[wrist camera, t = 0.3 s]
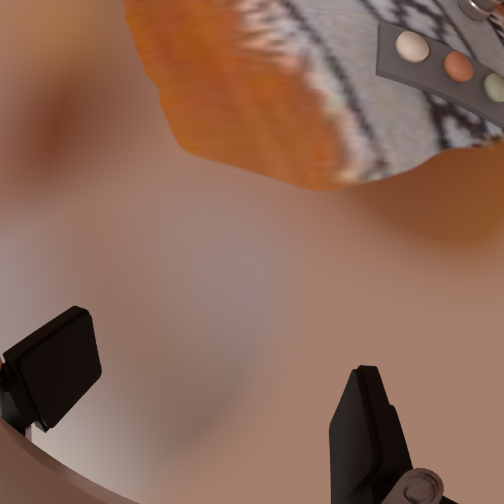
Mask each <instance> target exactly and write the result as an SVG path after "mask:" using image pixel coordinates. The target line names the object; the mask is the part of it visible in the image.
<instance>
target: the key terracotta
mask: <svg viewBox="0 0 504 504" xmlns="http://www.w3.org/2000/svg"><path fill="white" fill-rule="evenodd" d="M442 64H443V69H444V71H445V73H446V74H447V75H448V77H449V78H450V79H452V80H453V81H455V82H457V83H463V82H465V81H467V80H469V79H471V78H472V76H473V68H472V65H471V63H470V62H469V60H468V59H467V58H466V57H465V56H464V55H463V54H461V53H459V52H451V53H450V54H448V55H447V56H446V57H445V58H444V59H443V62H442Z"/></svg>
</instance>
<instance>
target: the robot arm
mask: <svg viewBox="0 0 504 504" xmlns="http://www.w3.org/2000/svg"><path fill="white" fill-rule="evenodd" d="M3 357H4V359H5V363H2V360H1V358H0V504H139V503H137V502H134V501H132V500H130V499H127V498H125V497H123V496H120V495H118V494H116V493H114V492H112V491H109V490H108V489H106V488H104V487H102V486H100V485H98V484H96V483H94V482H92V481H90V480H89V479H87V478H85V477H83V476H82V475H80V474H78V473H77V472H75V471H73V470H72V469H70V468H68V467H67V466H65V465H63V464H62V463H60V462H59V461H57V460H56V459H54V458H53V457H51V456H50V455H48V454H47V453H46V452H44V451H42V450H41V449H40V448H39V447H37V446H36V445H34V444H33V443H32V442H31V424H32V423H33V422H34V423H35V425H36V427H38V428H39V429H41V430H42V431H43V432H45V433H46V432H47V431H48V430H49V429H50V428H53V427H55V426H56V424H57V423H58V422H59V421H60V420H61V419H62V418H63V417H64V415H66V413H67V412H68V411H69V410H70V409H71V408H72V407H73V406H74V405H75V404H76V403H77V401H78V400H79V399H80V398H81V397H82V396H83V395H84V394H85V393H86V392H87V391H88V390H89V388H90V387H91V386H92V385H93V384H94V383H95V382H96V381H97V380H98V379H99V378H100V376H101V373H102V369H101V364H100V360H99V355H98V350H97V345H96V339H95V335H94V328H93V322H92V317H91V315H90V314H89V312H88V310H86V309H84V308H80V307H78V306H73V307H71V308H69V309H68V310H67V311H65V312H63V313H62V314H60V315H59V316H57V317H56V318H54V319H53V320H51V321H49V322H48V323H47V324H45V325H43V326H42V327H41V328H39V329H38V330H36V331H35V332H33V333H32V334H30V335H29V336H27V337H26V338H24V339H23V340H21V341H20V342H19V343H17V344H16V345H14V346H13V347H12V348H10V349H9V350H7V351H6V352H4V353H3ZM329 444H330V469H331V470H330V471H331V504H458V503H456V502H454V501H452V500H450V499H448V498H446V497H445V496H443V492H444V487H443V483H442V480H441V479H440V477H439V476H438V475H437V474H436V473H434V472H433V471H431V470H428V469H425V468H416V469H413V466H412V463H411V459H410V455H409V452H408V448H407V445H406V441H405V438H404V435H403V431H402V428H401V424H400V421H399V418H398V415H397V412H396V409H395V407H394V406H393V405H390V404H389V401H388V398H387V395H386V392H385V389H384V386H383V383H382V380H381V377H380V374H379V371H378V368H377V367H376V366H365V365H360V366H359V367H358V368H357V369H353V370H352V372H351V374H350V377H349V379H348V382H347V385H346V387H345V390H344V392H343V395H342V397H341V400H340V402H339V404H338V407H337V409H336V411H335V414H334V416H333V418H332V420H331V423H330V427H329Z"/></svg>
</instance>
